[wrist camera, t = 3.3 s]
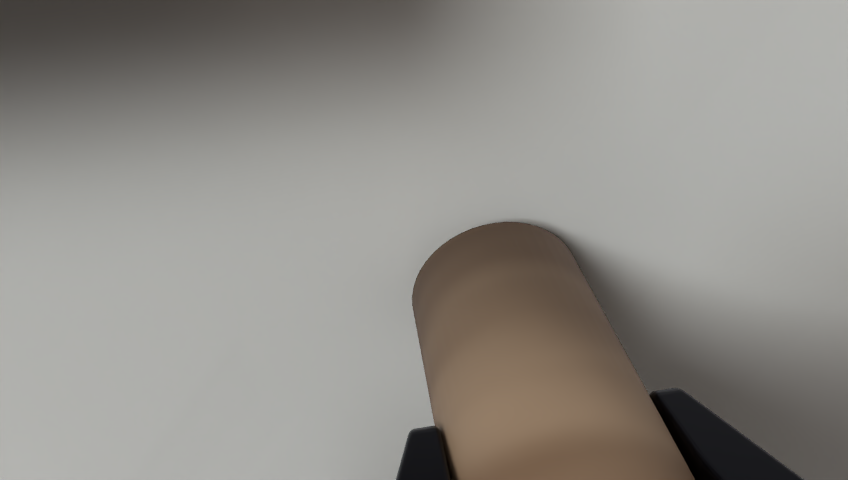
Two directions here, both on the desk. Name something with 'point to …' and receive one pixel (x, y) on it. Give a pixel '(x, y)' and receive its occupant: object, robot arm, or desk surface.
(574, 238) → the desk surface
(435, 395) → the dowel
